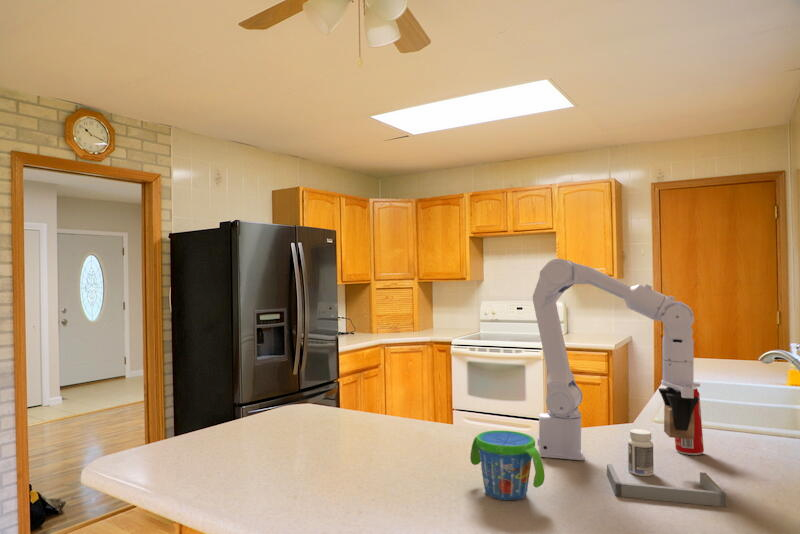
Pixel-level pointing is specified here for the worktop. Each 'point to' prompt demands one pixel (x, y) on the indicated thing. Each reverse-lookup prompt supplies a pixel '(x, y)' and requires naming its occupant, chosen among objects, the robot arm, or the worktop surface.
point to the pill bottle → (640, 453)
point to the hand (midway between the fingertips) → (677, 426)
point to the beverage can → (694, 444)
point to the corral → (670, 491)
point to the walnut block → (670, 427)
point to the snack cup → (507, 463)
